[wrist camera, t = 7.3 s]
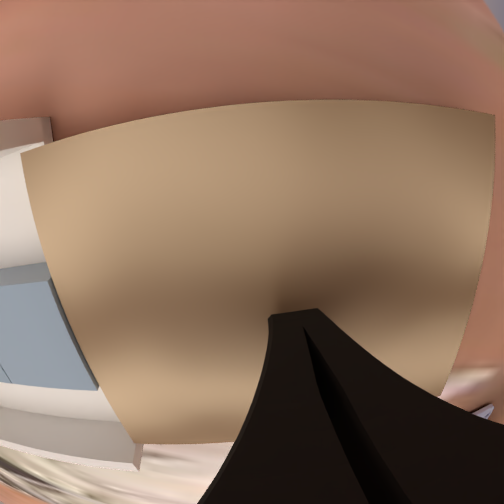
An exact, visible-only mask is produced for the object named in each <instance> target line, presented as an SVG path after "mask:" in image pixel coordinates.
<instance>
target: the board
mask: <svg viewBox="0 0 504 504" xmlns="http://www.w3.org/2000/svg"><path fill="white" fill-rule="evenodd" d="M20 155H21V161H22V167H23V173H24V178H25V183H26V188H27V192H28V197H29V201H30V206H31V210H32V214H33V218H34V222H35V225H36V229H37V233H38V236H39V240H40V243H41V246H42V250H43V253H44V256H45V259H46V262H47V265H48V268H49V271H50V274H51V277H52V280H53V283H54V286H55V288H56V291H57V294H58V296H59V299H60V301H61V304H62V307H63V309H64V312H65V314H66V316H67V319H68V321H69V324H70V326H71V328H72V330H73V333H74V335H75V337H76V339H77V342H78V344H79V346H80V348H81V350H82V352H83V354H84V356H85V358H86V361H87V363H88V365H89V367H90V368H91V370H92V372H93V374H94V376H95V378H96V380H97V382H98V384H99V386H100V387H101V389H102V391H103V393H104V395H105V397H106V398H107V400H108V402H109V404H110V405H111V407H112V409H113V410H114V412H115V414H116V415H117V417H118V419H119V420H120V422H121V424H122V425H123V427H124V428H125V430H126V431H127V433H128V435H129V436H130V438H131V439H132V441H133V442H134V443H138V444H204V443H222V442H235V440H236V438H237V436H238V434H239V432H240V430H241V427H242V425H243V423H244V421H245V418H246V416H247V414H248V411H249V408H250V406H251V403H252V401H253V398H254V395H255V391H256V388H257V385H258V382H259V379H260V376H261V372H262V368H263V364H264V359H265V354H266V350H267V343H268V334H269V330H268V318H269V317H270V316H271V314H279V313H286V312H293V311H300V310H307V309H313V308H318V309H319V310H321V311H322V312H323V313H324V314H325V315H326V316H327V317H328V318H330V319H331V320H332V321H333V322H334V323H335V324H336V325H337V326H338V327H339V328H341V329H342V330H343V331H344V332H345V333H346V334H347V335H349V336H350V337H351V338H352V339H353V340H354V341H356V342H357V343H358V344H359V345H360V346H362V347H363V348H364V349H365V350H367V351H368V352H369V353H370V354H372V355H373V356H374V357H375V358H377V359H378V360H379V361H381V362H382V363H383V364H385V365H386V366H387V367H389V368H390V369H392V370H393V371H395V372H396V373H397V374H399V375H400V376H402V377H403V378H405V379H407V380H408V381H410V382H411V383H413V384H415V385H416V386H418V387H420V388H422V389H423V390H425V391H427V392H429V393H430V394H432V395H434V396H436V397H437V396H440V395H441V393H442V391H443V389H444V386H445V384H446V381H447V379H448V376H449V374H450V371H451V369H452V366H453V364H454V361H455V358H456V355H457V353H458V350H459V347H460V344H461V341H462V338H463V335H464V332H465V329H466V325H467V322H468V319H469V315H470V312H471V308H472V305H473V301H474V297H475V293H476V289H477V285H478V281H479V277H480V272H481V268H482V263H483V258H484V252H485V247H486V241H487V235H488V229H489V221H490V214H491V205H492V196H493V184H494V169H495V115H492V114H487V113H481V112H476V111H470V110H464V109H457V108H450V107H443V106H435V105H426V104H416V103H405V102H392V101H374V100H291V101H272V102H258V103H247V104H236V105H227V106H218V107H210V108H203V109H196V110H189V111H183V112H177V113H171V114H165V115H160V116H154V117H149V118H144V119H139V120H135V121H130V122H125V123H121V124H117V125H113V126H108V127H104V128H100V129H97V130H93V131H89V132H85V133H82V134H78V135H75V136H71V137H68V138H65V139H61V140H58V141H55V142H52V143H49V144H46V145H43V146H40V147H37V148H34V149H31V150H28V151H25V152H23V153H20Z"/></svg>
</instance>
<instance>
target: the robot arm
mask: <svg viewBox="0 0 504 504" xmlns="http://www.w3.org/2000/svg"><path fill="white" fill-rule="evenodd" d="M268 330H269V334H268V343H267V350H266V354H265V359H264V364H263V368H262V372H261V376H260V379H259V382H258V385H257V388H256V391H255V395H254V398H253V401H252V403H251V406H250V408H249V411H248V414H247V416H246V418H245V421H244V423H243V425H242V427H241V430H240V432H239V434H238V436H237V438H236V440H235V442H234V444H233V446H232V448H231V450H230V452H229V454H228V456H227V457H226V459H225V461H224V463H223V465H222V466H221V468H220V470H219V472H218V473H217V475H216V477H215V478H214V480H213V481H212V483H211V484H210V486H209V487H208V489H207V490H206V492H205V493H204V495H203V496H202V497H201V499H200V500H199V502H198V503H197V504H504V425H503V424H499V423H496V422H493V421H490V420H488V417H489V416H490V414H491V413H492V411H493V409H494V406H493V405H492V404H490V405H488V406H486V407H484V408H482V409H480V410H478V411H476V412H474V413H470V412H467V411H465V410H463V409H461V408H458V407H456V406H454V405H452V404H450V403H448V402H446V401H444V400H442V399H440V398H438V397H436V396H434V395H432V394H430V393H429V392H427V391H425V390H423V389H422V388H420V387H418V386H416V385H415V384H413V383H411V382H410V381H408V380H407V379H405V378H403V377H402V376H400V375H399V374H397V373H396V372H395V371H393V370H392V369H390V368H389V367H387V366H386V365H385V364H383V363H382V362H381V361H379V360H378V359H377V358H375V357H374V356H373V355H372V354H370V353H369V352H368V351H367V350H365V349H364V348H363V347H362V346H360V345H359V344H358V343H357V342H356V341H354V340H353V339H352V338H351V337H350V336H349V335H347V334H346V333H345V332H344V331H343V330H342V329H341V328H339V327H338V326H337V325H336V324H335V323H334V322H333V321H332V320H331V319H330V318H328V317H327V316H326V315H325V314H324V313H323V312H322V311H321V310H319V309H318V308H313V309H307V310H300V311H293V312H286V313H279V314H271V316H270V317H269V318H268Z"/></svg>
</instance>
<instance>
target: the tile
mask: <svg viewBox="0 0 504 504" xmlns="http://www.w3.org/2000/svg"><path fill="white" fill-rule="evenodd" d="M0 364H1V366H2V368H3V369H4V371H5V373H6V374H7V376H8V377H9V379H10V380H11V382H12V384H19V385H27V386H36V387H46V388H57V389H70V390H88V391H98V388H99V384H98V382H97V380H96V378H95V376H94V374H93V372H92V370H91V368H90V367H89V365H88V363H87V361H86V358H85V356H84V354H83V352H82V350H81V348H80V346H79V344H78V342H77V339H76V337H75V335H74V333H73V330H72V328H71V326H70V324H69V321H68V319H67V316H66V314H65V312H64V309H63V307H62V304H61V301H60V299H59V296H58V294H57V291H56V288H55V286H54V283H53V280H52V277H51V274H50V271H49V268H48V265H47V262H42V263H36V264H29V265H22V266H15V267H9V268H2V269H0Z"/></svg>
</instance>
